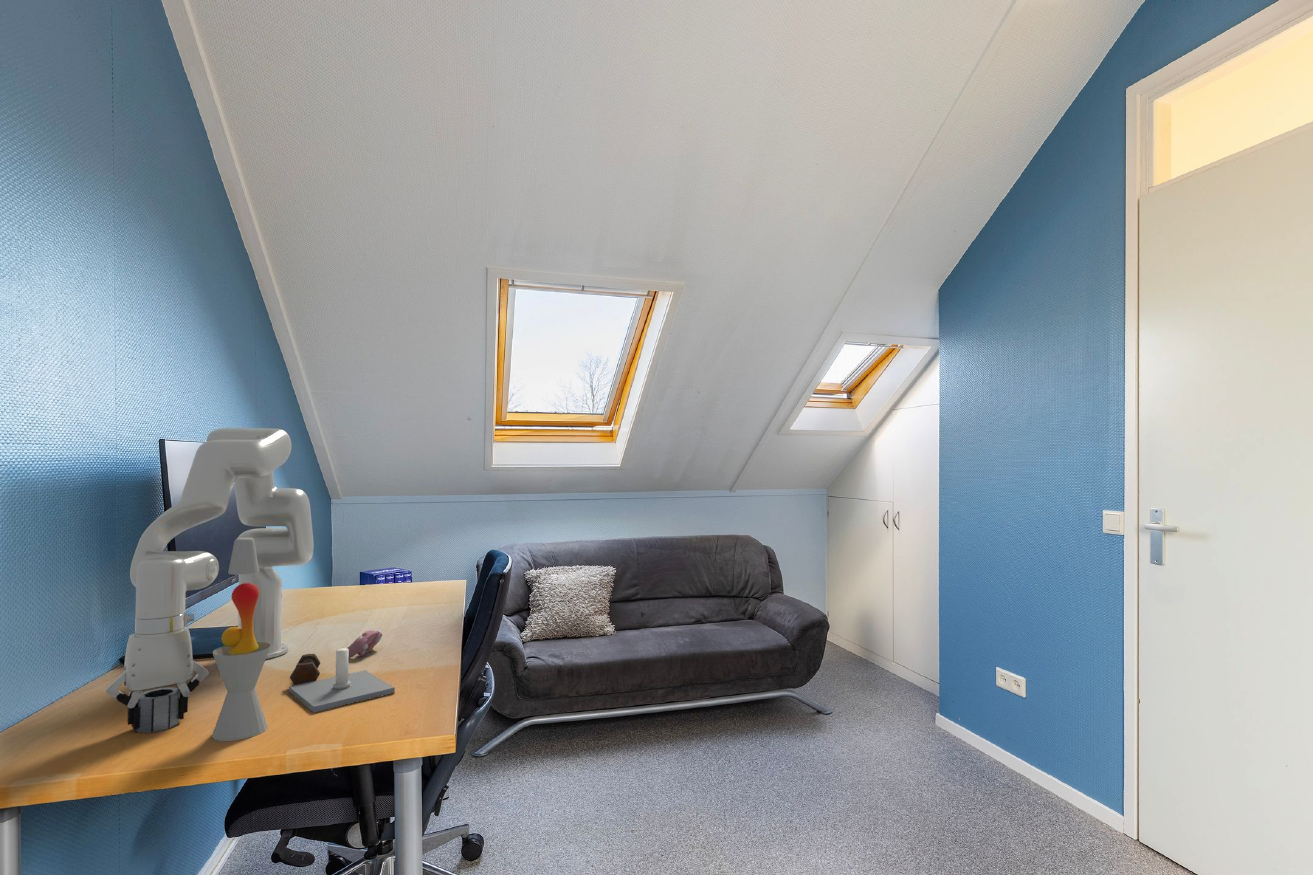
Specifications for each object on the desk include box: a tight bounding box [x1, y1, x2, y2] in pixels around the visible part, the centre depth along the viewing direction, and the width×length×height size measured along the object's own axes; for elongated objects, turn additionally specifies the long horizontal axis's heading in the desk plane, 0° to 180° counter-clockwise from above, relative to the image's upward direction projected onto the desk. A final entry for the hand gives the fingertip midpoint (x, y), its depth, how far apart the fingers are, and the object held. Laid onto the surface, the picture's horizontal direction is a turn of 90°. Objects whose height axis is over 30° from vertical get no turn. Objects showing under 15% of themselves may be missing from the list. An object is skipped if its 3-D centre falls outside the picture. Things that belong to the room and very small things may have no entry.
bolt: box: [289, 653, 321, 686], centre depth 154 cm, size 6×5×15 cm
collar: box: [136, 687, 180, 734], centre depth 126 cm, size 6×6×6 cm
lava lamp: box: [211, 537, 270, 742], centre depth 124 cm, size 9×9×35 cm
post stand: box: [288, 647, 396, 714], centre depth 144 cm, size 16×16×9 cm
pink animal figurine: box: [346, 629, 383, 659], centre depth 172 cm, size 10×5×7 cm, turn 172°
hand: (157, 721), depth 125 cm, fingers closed on collar, 6 cm apart
